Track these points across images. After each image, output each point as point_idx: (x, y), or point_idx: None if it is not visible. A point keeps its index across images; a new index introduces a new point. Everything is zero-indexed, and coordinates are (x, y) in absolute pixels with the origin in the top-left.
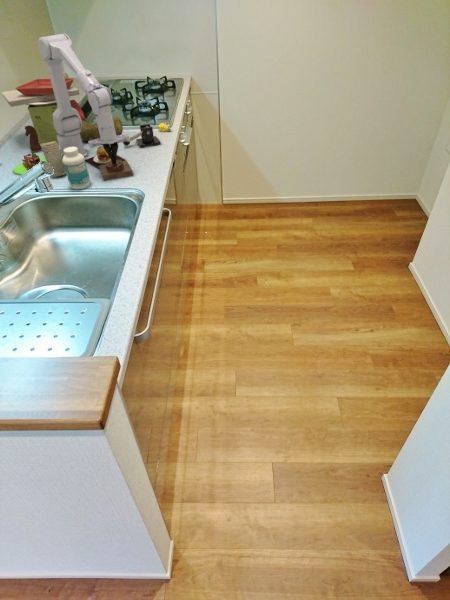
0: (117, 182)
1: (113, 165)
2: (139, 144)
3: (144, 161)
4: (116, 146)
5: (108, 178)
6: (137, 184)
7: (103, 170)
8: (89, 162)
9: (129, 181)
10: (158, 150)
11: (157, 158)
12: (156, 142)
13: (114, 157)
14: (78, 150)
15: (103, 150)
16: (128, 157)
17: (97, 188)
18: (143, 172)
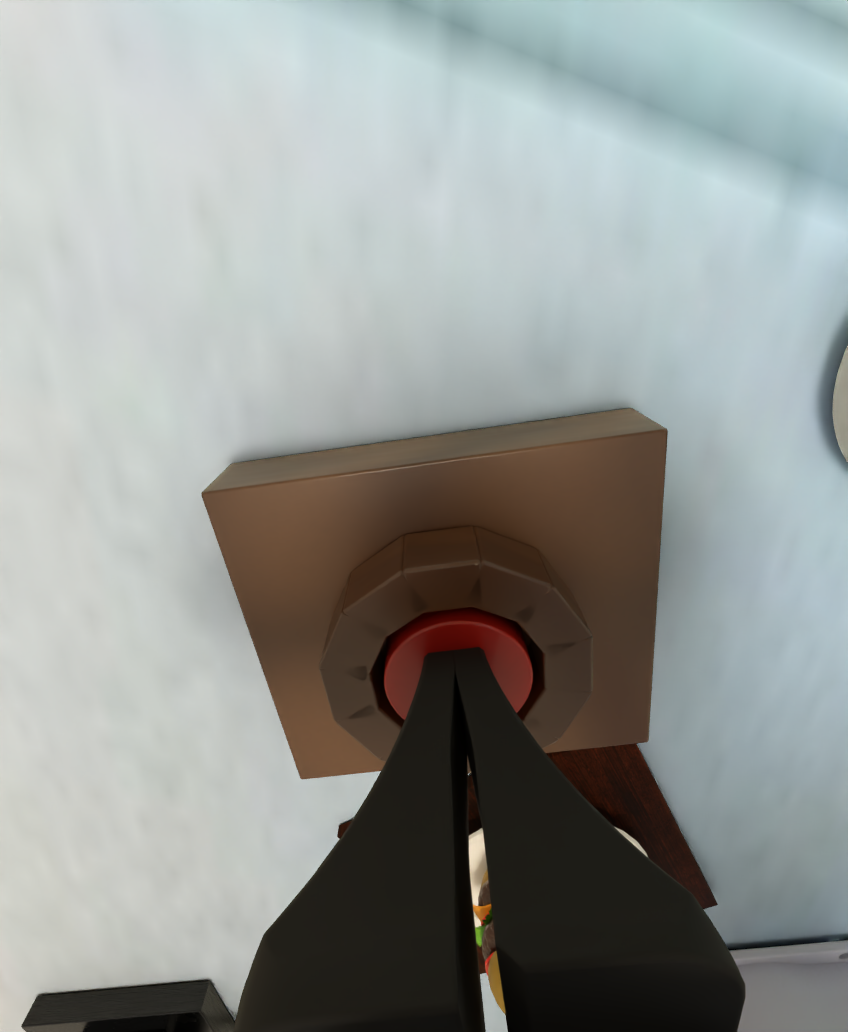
0: (455, 305)
1: (475, 617)
2: (210, 1022)
3: (136, 772)
4: (289, 999)
5: (572, 424)
6: (127, 106)
7: (620, 598)
8: (687, 856)
9: (273, 283)
10: (34, 923)
11: (2, 798)
12: (54, 1024)
13: (437, 725)
14: (760, 1027)
15: None
16: (311, 871)
17: (784, 169)
18: (100, 521)
